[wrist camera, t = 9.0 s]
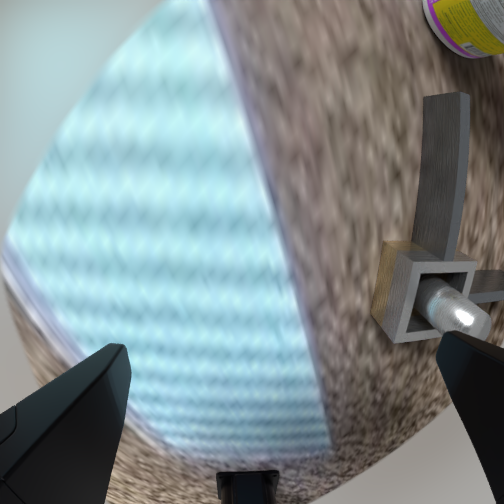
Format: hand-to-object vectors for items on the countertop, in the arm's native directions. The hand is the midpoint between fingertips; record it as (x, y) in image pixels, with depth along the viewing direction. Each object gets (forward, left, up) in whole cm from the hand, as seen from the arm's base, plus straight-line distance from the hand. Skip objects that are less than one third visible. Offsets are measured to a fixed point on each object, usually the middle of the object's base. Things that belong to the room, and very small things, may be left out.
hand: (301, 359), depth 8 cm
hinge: (+2, -15, -12) cm, 19 cm away
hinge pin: (-3, -11, -12) cm, 17 cm away
